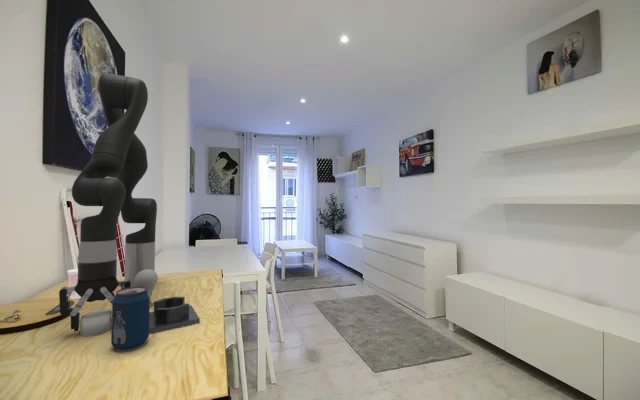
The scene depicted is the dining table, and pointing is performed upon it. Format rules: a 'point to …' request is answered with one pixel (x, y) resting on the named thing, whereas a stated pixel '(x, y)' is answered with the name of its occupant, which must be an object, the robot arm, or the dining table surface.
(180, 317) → the ball socket plate
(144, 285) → the lightbulb
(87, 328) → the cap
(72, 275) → the beverage cup
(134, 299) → the soda can
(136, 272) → the robot arm
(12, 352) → the dining table surface
